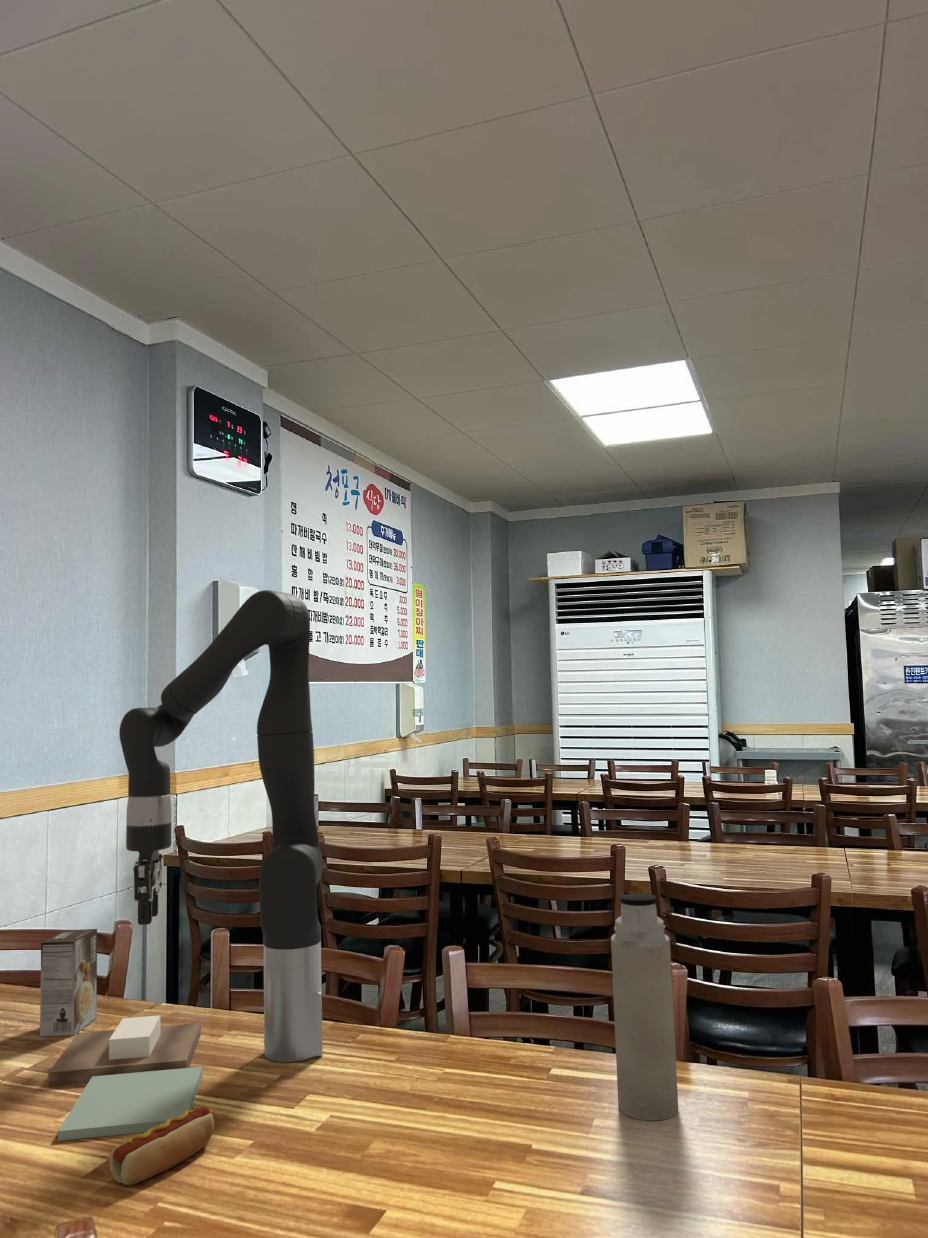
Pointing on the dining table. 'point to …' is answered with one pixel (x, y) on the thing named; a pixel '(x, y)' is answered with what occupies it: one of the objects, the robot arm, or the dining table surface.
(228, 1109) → the dining table surface
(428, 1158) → the dining table surface
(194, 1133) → the food
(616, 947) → the thermos bottle
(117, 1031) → the white rectangular block
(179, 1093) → the mat
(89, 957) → the coffee box
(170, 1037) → the plate
